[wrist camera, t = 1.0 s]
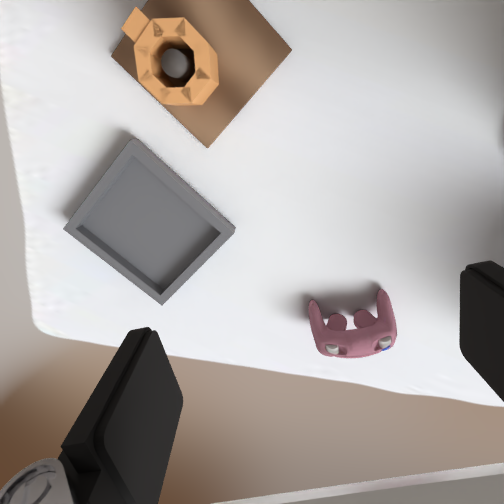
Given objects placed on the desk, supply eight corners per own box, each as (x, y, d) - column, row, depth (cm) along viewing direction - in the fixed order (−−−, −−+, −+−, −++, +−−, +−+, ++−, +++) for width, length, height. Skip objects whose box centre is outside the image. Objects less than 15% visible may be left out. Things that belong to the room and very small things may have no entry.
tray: (137, 138, 34) (130, 139, 32) (235, 227, 38) (234, 233, 36) (72, 223, 38) (63, 228, 36) (166, 297, 42) (162, 305, 40)
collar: (168, 3, 29) (150, -19, 24) (231, 69, 31) (225, 60, 26) (129, 59, 31) (105, 49, 26) (190, 119, 33) (178, 119, 28)
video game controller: (308, 316, 44) (317, 367, 39) (305, 297, 40) (315, 351, 36) (384, 304, 42) (403, 356, 38) (387, 284, 39) (409, 338, 34)
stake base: (193, -61, 28) (176, -101, 23) (291, 51, 31) (296, 37, 26) (114, 57, 32) (84, 45, 26) (208, 147, 34) (198, 152, 29)
